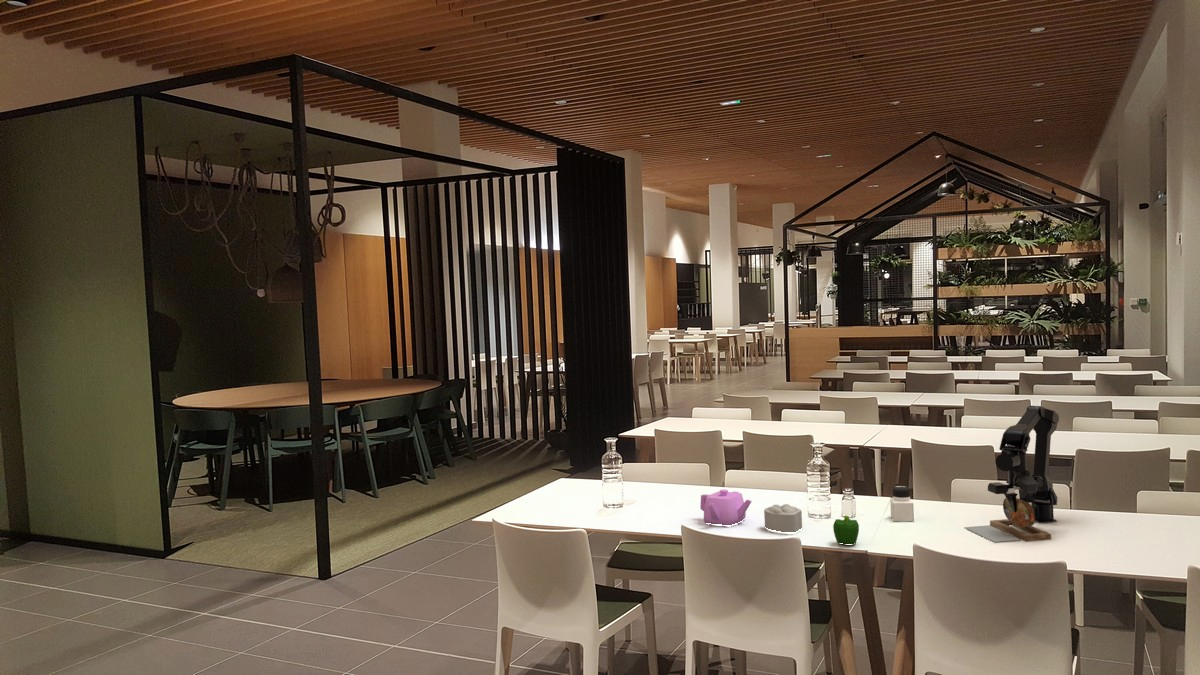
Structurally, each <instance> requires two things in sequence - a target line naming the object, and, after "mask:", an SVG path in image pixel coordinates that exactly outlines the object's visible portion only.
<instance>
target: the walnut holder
mask: <svg viewBox="0 0 1200 675" xmlns="http://www.w3.org/2000/svg"><path fill="white" fill-rule="evenodd" d="M990 525H991V527H992V526H993V527H995V528H996V529H998V530H1000V531H1002V532H1005V533H1007V534H1009V535H1011V536H1013V537H1016V538H1018V539H1020V540H1021V541H1024V542H1033V541H1034V542H1035V541H1037V540H1038V541H1050V539H1051V540H1052V534H1051V533H1050V532H1047V531H1045V530H1042V529H1040V528H1037V527H1036V526H1035V527H1034V526H1033V525H1032V526H1029V527H1021V526H1019V525H1017V524H1015V523H1013V522H1011V521H1009V520H1008V519H1007V518H1005V519H992V520H989V526H990ZM1009 525H1013V527H1012V526H1009ZM1014 527H1015V528H1014ZM1019 528H1020V530H1019ZM1021 529H1022V531H1021ZM1026 531H1027V532H1026ZM1025 532H1026V533H1025ZM1028 532H1029V533H1028Z"/></svg>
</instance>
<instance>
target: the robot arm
mask: <svg viewBox="0 0 1200 675" xmlns="http://www.w3.org/2000/svg"><path fill="white" fill-rule="evenodd" d="M1059 421H1060V416H1059V414H1058V413H1057V412H1056V411H1055V410H1052V409H1049V408H1046V407H1044V406H1042V405H1029V406H1027V407H1026V411H1025V412H1024V413H1023V415H1022V416H1021V418H1020V419H1019V420H1018V422H1017V423H1016V424H1014V425H1010V426H1009V427H1008V428H1006V430H1005V431H1004V432H1003V433H1002V438H1001V440H1000V444H999V448H998V449H999V450H1000V452H1001V454H999V455H998V456H997V457H996V458H995V465H996V467H997V468H998V470H1000V471H1001V472H1002V471H1003V472H1006V473H1007V475H1008V476H1007V478H1008V479H1006V480H1005V482H1006V484H1005V483H1002V482H999V481H997V482H989V483H988V485H987V491H988V492H990V493H992V494H996V495H1004V496H1005V498H1007V500H1008V502H1009V504H1010V506H1011V508H1012V510H1013V512H1016V509H1017V507H1016V498H1018V497H1017V496H1019V498H1018V499H1021V500H1023V501H1025V502H1028V503H1029V504H1030V503H1031V504H1030V505H1031V506H1032V508H1033V510H1034V515H1035V522H1037V523H1041V524H1042V523H1053V522H1057V519H1055V518H1054V506H1057V505H1058V496H1057V493H1056V492H1055V490H1054V484H1053V483H1052V481H1051V478H1050V477H1049V469H1050V468H1049V467H1050V456H1051V454H1050V452H1051V441H1052V440H1051V439H1052V435H1053V434H1054V432H1056V430H1057V429H1058V428H1057V427H1058V423H1059ZM1033 430H1034V432H1035V446H1034V447H1035V448H1034V456H1033V457H1034V458H1033V459H1034V460H1033V472H1032V475H1031V473H1030V470H1029V469H1028V468H1027V452H1028V448H1029V445H1030V442H1031V435H1030V434H1031V432H1032V431H1033ZM1016 490H1017V491H1018V493H1017V492H1016Z"/></svg>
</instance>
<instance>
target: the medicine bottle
mask: <svg viewBox="0 0 1200 675" xmlns="http://www.w3.org/2000/svg"><path fill="white" fill-rule="evenodd" d="M889 501H890V502H889V503H890V517H891V519H892V521H893V522H894V521H913V522H914V521H915V514H914V512H915V511H914V502H913V500H912V499H911V489H910V488H909V487H907V486H905V485H903V486H902V485H900V486H899V485H898V486H895V487H893V488H892V497H891V498H890V499H889Z"/></svg>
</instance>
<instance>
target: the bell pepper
mask: <svg viewBox="0 0 1200 675" xmlns="http://www.w3.org/2000/svg"><path fill="white" fill-rule="evenodd" d="M832 528H833V535H834V538H835V540H836V542H837V543H843V544H854V543H855V544H856V543H857V540H858V536H859V530H860V524H859V523H858V521H857V519H850V517H849V515H844V518H843V519H840V518H837V519H835V520H834V523H833V525H832ZM843 544H842V545H843ZM855 544H854V545H855Z"/></svg>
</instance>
